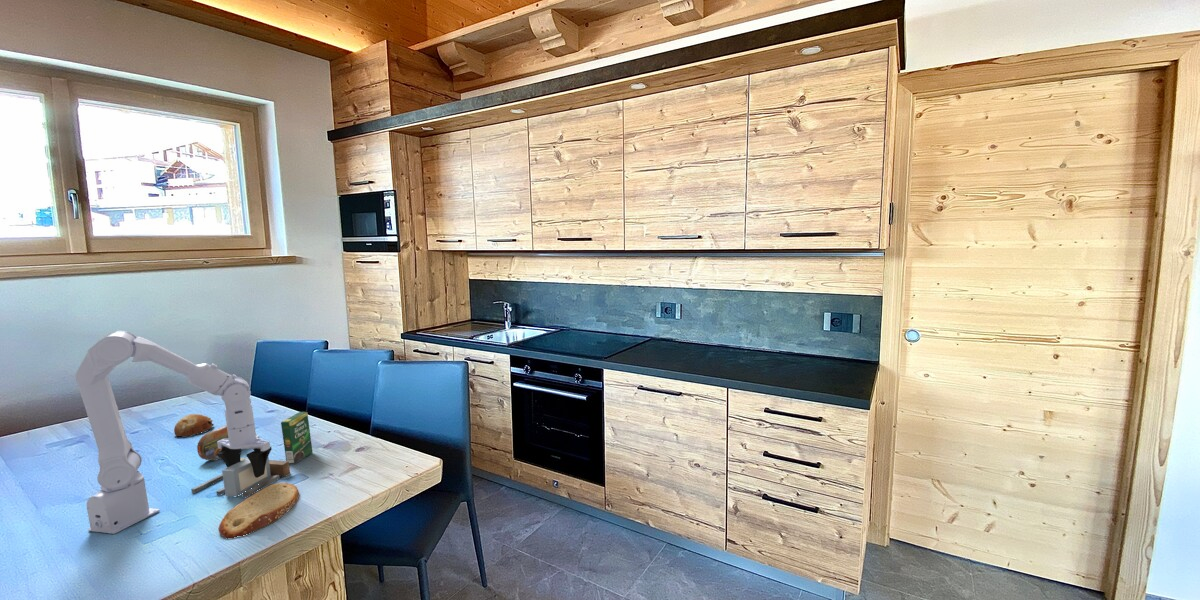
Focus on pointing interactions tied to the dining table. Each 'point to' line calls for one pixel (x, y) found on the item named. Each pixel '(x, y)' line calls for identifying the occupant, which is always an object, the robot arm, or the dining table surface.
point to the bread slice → (259, 510)
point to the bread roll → (192, 425)
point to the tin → (211, 443)
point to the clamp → (275, 469)
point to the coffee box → (296, 437)
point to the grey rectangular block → (242, 477)
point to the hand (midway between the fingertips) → (247, 474)
